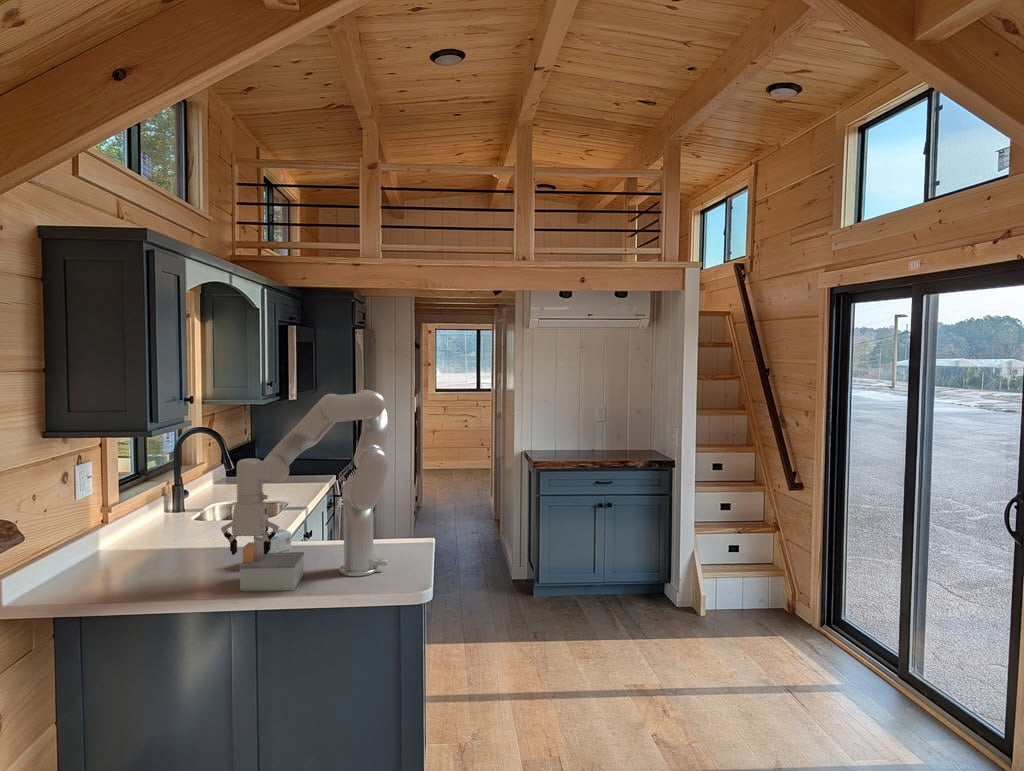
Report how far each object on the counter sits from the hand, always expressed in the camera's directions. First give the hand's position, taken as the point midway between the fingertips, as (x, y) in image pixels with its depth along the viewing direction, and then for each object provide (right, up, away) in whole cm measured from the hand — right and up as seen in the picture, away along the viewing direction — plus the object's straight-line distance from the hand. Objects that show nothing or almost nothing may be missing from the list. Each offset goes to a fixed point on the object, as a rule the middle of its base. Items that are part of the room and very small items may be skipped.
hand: (250, 553), depth 216 cm
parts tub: (+7, -10, +1) cm, 12 cm away
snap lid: (+7, -4, +1) cm, 8 cm away
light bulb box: (0, -9, +21) cm, 22 cm away
